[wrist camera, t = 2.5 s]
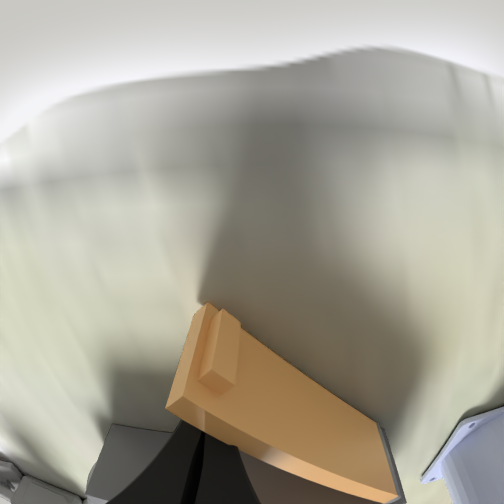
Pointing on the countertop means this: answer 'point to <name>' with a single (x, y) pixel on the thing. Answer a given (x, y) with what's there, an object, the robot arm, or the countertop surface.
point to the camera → (31, 489)
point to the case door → (276, 411)
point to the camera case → (259, 472)
